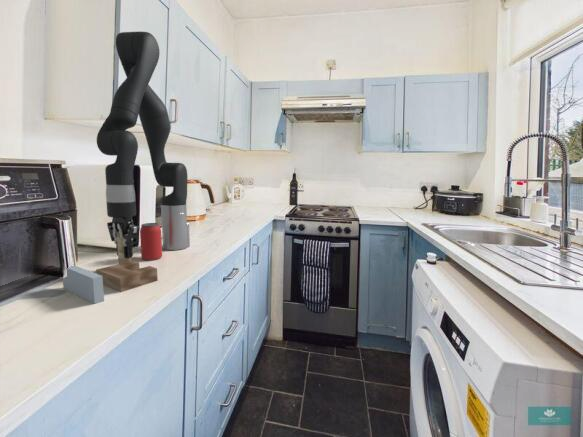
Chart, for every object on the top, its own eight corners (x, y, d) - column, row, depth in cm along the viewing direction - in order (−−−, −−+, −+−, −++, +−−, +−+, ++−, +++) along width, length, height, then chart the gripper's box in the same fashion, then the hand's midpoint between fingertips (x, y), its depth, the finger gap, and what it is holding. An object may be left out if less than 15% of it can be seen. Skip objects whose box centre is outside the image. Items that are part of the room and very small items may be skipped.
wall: (72, 285, 78) (70, 263, 77) (104, 300, 70) (102, 276, 69) (63, 288, 76) (61, 265, 75) (94, 303, 68) (92, 278, 67)
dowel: (128, 267, 94) (125, 229, 92) (134, 269, 92) (132, 231, 90) (116, 270, 91) (114, 231, 89) (123, 272, 89) (120, 232, 87)
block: (133, 272, 89) (132, 260, 89) (157, 280, 83) (156, 268, 83) (97, 281, 81) (96, 269, 81) (121, 291, 75) (120, 278, 74)
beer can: (144, 262, 100) (142, 226, 98) (139, 257, 105) (137, 223, 103) (164, 258, 104) (163, 224, 102) (159, 254, 109) (157, 222, 107)
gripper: (147, 200, 88) (150, 257, 90) (120, 198, 95) (124, 250, 98) (121, 202, 82) (125, 263, 84) (95, 199, 89) (99, 255, 92)
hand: (124, 256), depth 91 cm, fingers closed on dowel, 3 cm apart
